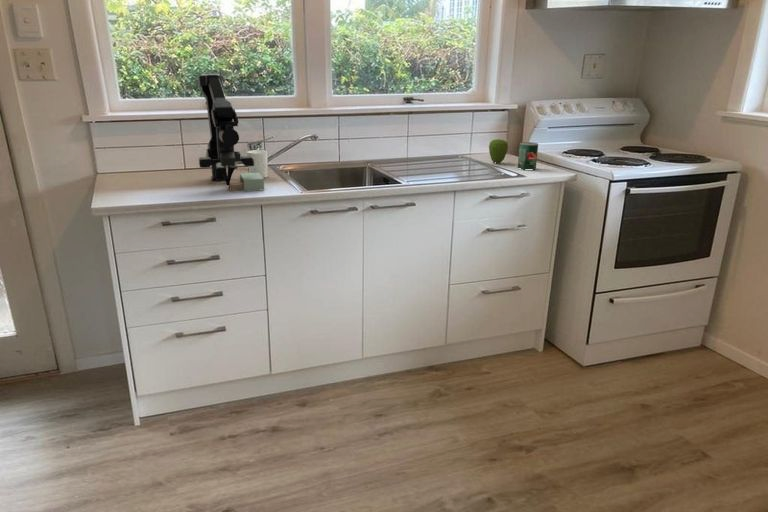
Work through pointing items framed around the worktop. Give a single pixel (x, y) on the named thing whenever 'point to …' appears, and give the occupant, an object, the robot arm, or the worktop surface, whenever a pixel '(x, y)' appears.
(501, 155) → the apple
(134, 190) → the worktop surface
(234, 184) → the board
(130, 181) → the worktop surface
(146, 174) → the worktop surface
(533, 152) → the canned tomato
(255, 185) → the green channel beam
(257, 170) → the white cup
